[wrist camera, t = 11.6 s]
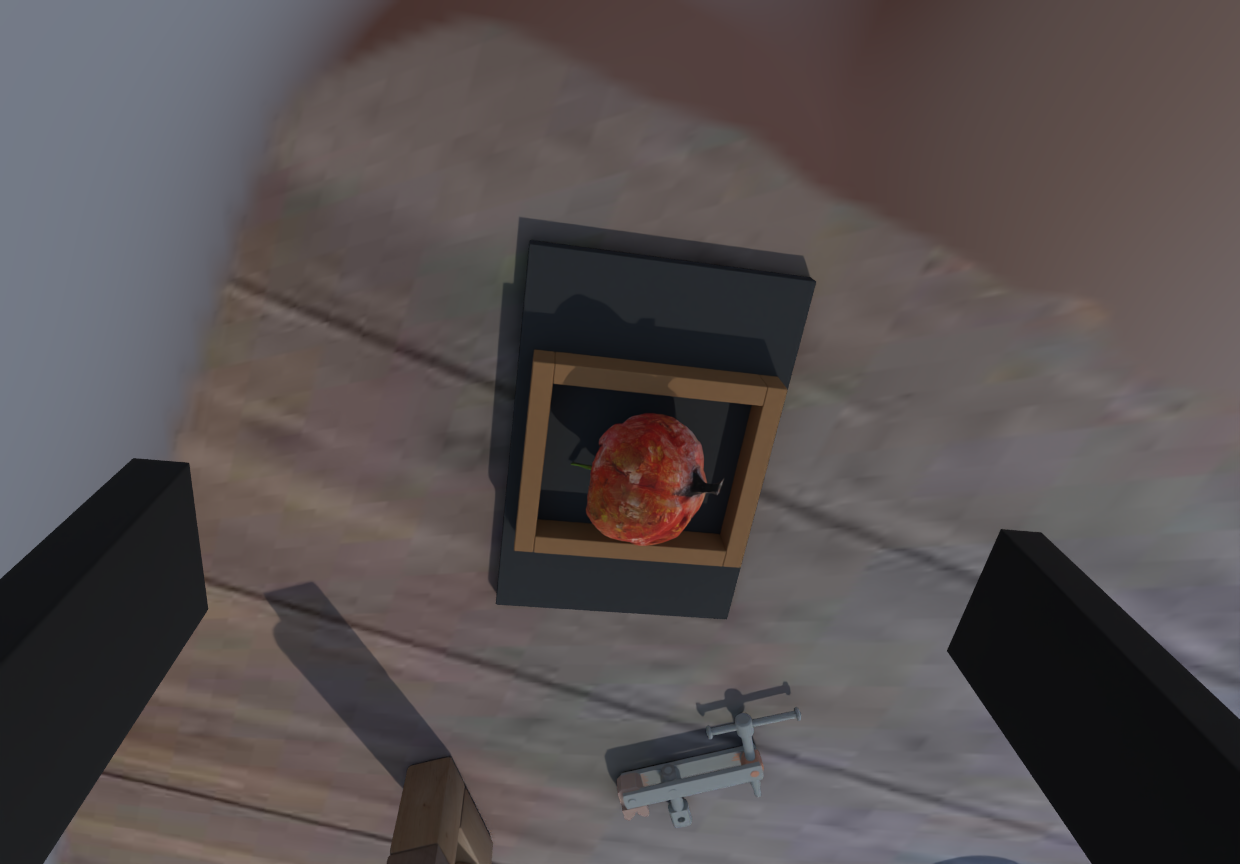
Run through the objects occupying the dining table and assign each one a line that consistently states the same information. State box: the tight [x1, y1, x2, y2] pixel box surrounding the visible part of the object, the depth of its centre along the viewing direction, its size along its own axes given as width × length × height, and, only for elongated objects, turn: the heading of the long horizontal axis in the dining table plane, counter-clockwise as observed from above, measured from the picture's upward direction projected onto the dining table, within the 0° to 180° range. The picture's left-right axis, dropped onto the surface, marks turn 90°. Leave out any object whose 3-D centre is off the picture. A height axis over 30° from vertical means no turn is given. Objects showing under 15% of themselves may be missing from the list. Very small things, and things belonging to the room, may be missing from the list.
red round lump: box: [571, 413, 724, 546], centre depth 41 cm, size 7×7×10 cm
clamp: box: [617, 707, 801, 828], centre depth 57 cm, size 15×2×10 cm
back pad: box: [496, 240, 816, 619], centre depth 44 cm, size 24×16×3 cm, turn 172°
